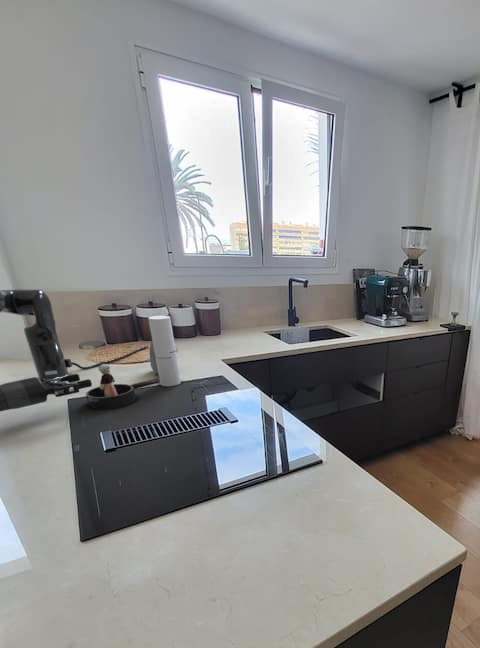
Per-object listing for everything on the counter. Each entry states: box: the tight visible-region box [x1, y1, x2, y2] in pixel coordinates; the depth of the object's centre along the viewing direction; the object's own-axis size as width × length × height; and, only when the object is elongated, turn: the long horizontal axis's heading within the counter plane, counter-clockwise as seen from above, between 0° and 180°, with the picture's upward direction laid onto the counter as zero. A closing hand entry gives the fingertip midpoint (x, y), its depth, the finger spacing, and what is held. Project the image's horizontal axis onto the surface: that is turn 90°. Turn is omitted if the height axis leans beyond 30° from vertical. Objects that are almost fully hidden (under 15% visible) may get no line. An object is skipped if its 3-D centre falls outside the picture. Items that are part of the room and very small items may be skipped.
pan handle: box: [129, 377, 160, 390], centre depth 140 cm, size 11×2×2 cm, turn 145°
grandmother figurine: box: [97, 363, 118, 397], centre depth 130 cm, size 8×4×13 cm, turn 13°
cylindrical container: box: [147, 315, 182, 387], centre depth 146 cm, size 7×7×25 cm
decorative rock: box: [148, 340, 159, 376], centre depth 159 cm, size 16×7×15 cm, turn 36°
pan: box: [85, 383, 136, 410], centre depth 132 cm, size 14×14×4 cm
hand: (84, 379), depth 124 cm, fingers open, 8 cm apart
